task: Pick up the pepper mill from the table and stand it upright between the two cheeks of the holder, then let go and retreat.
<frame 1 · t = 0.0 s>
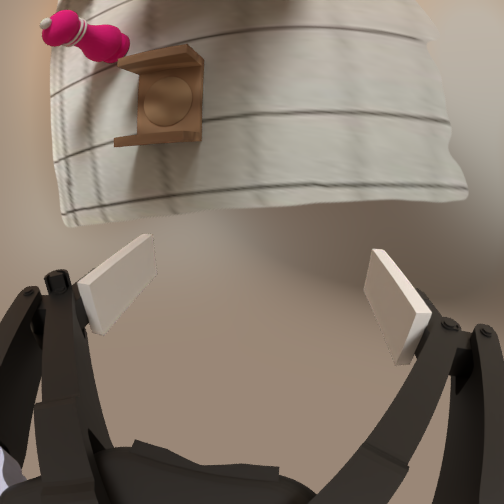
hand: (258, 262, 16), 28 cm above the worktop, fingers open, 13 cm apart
pepper mill: (116, 48, 34), on the worktop
holder: (170, 101, 38), on the worktop
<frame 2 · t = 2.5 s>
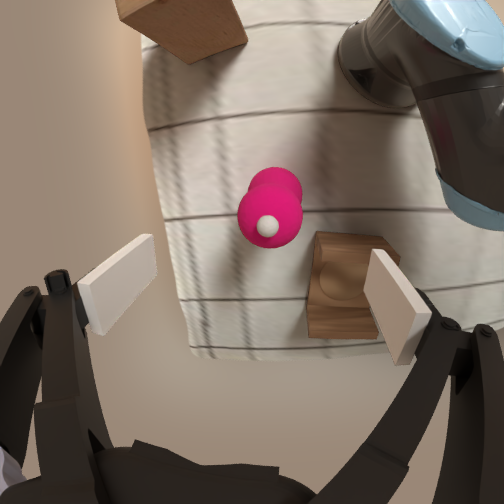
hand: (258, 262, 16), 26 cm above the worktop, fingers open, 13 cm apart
pepper mill: (276, 189, 40), on the worktop
holder: (343, 274, 43), on the worktop
wooden block: (209, 30, 31), on the worktop
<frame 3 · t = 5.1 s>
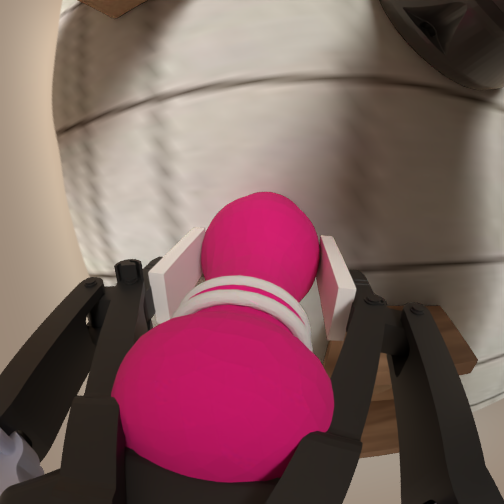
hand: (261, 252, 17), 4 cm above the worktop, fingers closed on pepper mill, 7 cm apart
pepper mill: (266, 231, 21), on the worktop, touching gripper
holder: (373, 361, 25), on the worktop
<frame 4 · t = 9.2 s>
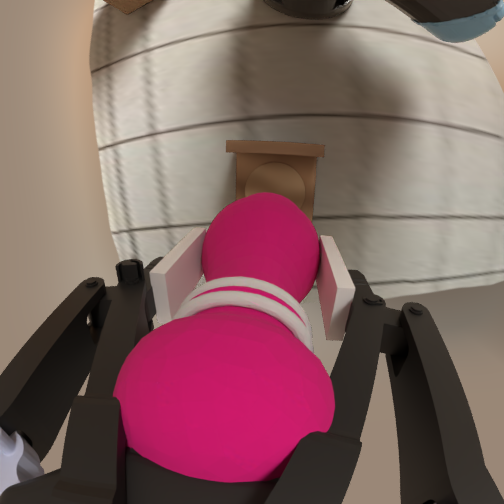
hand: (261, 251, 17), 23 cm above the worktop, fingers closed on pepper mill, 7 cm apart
pepper mill: (266, 231, 21), point 19 cm above the worktop, touching gripper
holder: (275, 190, 39), on the worktop
when the fingers open (7 cm above the worktop, at t = 12.9 s): pepper mill drops 1 cm, resting on holder.
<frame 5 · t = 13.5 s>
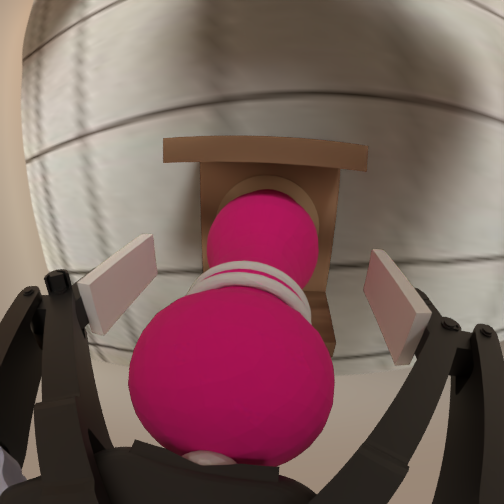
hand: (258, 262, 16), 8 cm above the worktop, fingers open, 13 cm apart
pepper mill: (267, 226, 22), point 1 cm above the worktop, touching holder
holder: (267, 222, 23), on the worktop
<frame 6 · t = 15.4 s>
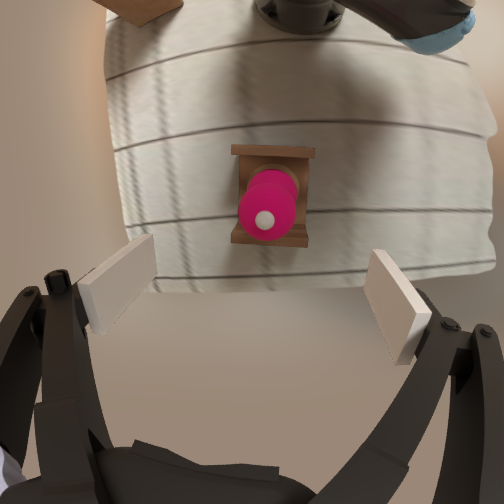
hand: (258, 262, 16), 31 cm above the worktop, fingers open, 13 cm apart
pepper mill: (273, 188, 43), point 1 cm above the worktop, touching holder
holder: (273, 188, 44), on the worktop
wooden block: (156, 1, 32), on the worktop
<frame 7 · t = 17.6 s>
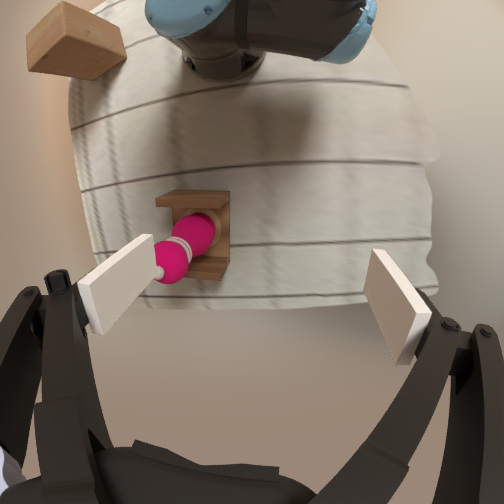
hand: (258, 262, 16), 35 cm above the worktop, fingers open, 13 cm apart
pepper mill: (200, 227, 51), point 1 cm above the worktop, touching holder
holder: (201, 226, 52), on the worktop
wooden block: (106, 53, 40), on the worktop
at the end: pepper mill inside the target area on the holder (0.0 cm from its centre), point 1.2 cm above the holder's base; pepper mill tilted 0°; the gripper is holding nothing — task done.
